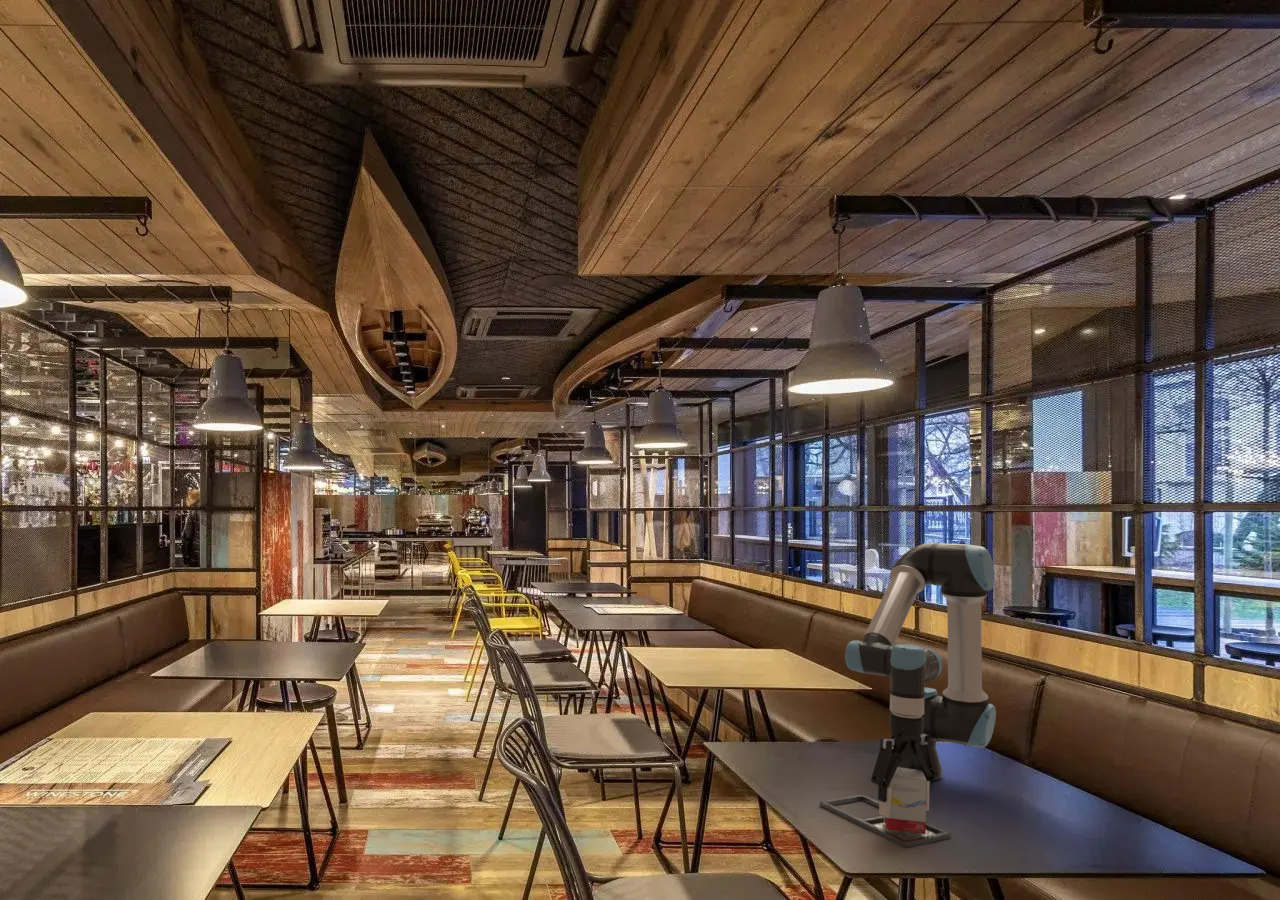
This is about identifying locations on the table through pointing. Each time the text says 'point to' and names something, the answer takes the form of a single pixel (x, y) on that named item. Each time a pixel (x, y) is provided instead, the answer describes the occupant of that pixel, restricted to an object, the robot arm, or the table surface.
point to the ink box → (907, 801)
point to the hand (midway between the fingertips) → (904, 812)
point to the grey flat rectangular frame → (880, 828)
